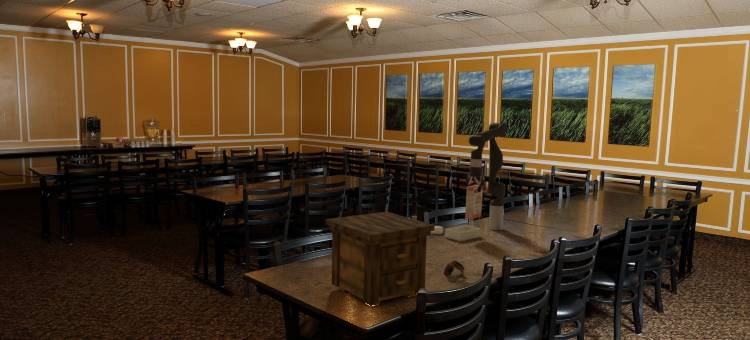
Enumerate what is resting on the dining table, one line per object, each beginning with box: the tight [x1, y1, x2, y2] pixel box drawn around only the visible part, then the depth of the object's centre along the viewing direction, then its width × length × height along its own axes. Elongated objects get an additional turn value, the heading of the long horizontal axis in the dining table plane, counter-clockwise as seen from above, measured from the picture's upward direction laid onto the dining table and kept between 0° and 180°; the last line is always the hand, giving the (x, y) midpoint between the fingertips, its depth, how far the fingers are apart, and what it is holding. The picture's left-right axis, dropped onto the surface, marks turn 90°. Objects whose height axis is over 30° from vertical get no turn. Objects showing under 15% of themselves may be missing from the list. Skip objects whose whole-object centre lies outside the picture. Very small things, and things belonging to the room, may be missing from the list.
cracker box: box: [464, 184, 484, 220], centre depth 342 cm, size 14×6×21 cm, turn 146°
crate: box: [324, 211, 436, 306], centre depth 237 cm, size 35×35×33 cm
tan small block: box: [431, 225, 444, 235], centre depth 357 cm, size 8×8×4 cm
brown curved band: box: [443, 260, 465, 277], centre depth 266 cm, size 12×10×8 cm
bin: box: [444, 224, 482, 242], centre depth 345 cm, size 13×21×6 cm, turn 129°
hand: (474, 191), depth 341 cm, fingers closed on cracker box, 6 cm apart
